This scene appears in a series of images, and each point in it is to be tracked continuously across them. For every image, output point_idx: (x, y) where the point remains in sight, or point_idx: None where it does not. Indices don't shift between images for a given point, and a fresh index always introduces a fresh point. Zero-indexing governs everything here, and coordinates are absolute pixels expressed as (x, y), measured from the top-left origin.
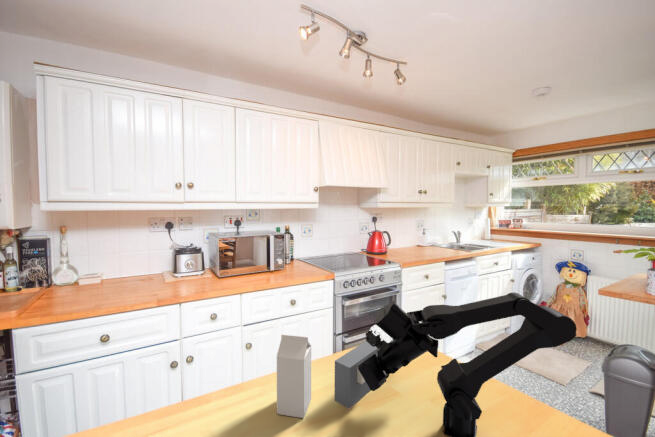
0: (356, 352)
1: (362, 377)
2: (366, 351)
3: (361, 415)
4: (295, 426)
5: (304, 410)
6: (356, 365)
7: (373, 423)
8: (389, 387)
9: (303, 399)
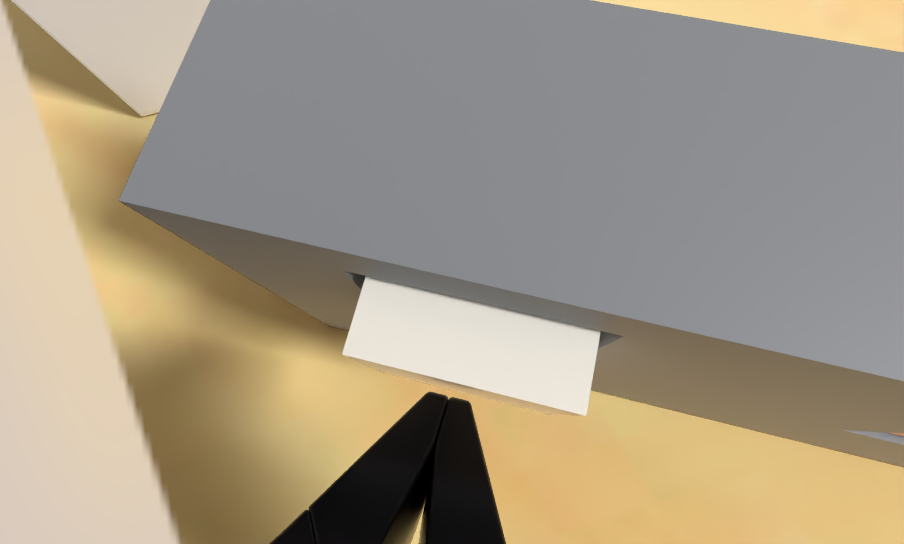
0: (654, 110)
1: (387, 371)
2: (813, 257)
3: (304, 427)
4: (77, 112)
5: (125, 90)
6: (320, 257)
7: (260, 540)
8: (740, 536)
9: (45, 30)
